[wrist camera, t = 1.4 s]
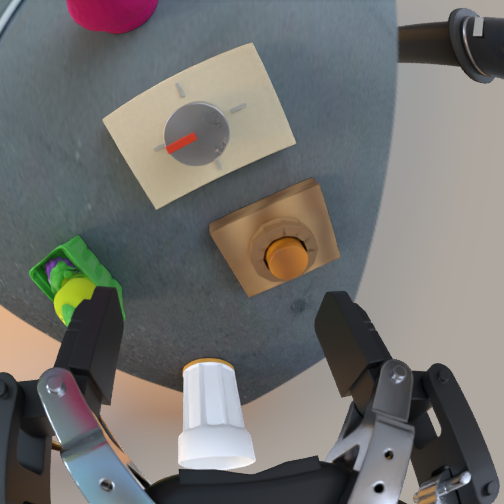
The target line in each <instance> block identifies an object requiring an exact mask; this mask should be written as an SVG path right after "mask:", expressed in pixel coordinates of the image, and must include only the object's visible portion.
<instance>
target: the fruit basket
mask: <svg viewBox="0 0 504 504" xmlns="http://www.w3.org/2000/svg"><path fill="white" fill-rule="evenodd" d="M29 274H30V277H31V279H32V280H33V281H34V282H35V283H36V284H37V286H38V287H39V288H40V289H41V290H42V291H43V292H44V293H45V294H46V295H47V296H48V298H50V300H51V301H52V302H53V303H54V307H55V311H56V313H57V315H58V317H59V318H60V319H61V320H62V321H63V322H64V324H65V325H66V326H67V327H68V325H69V322H70V321H71V317H72V314H73V312H74V309H75V308H76V307H77V306H78V304H79V303H80V302H81V301H82V300H83V299H91V297H92V294H93V292H94V289H95V287H96V286H106V287H116V289H117V292H118V297H119V301H120V306H121V310H122V314H123V320H125V312H124V309H123V298H122V287H121V285H120V284H119V283H118V282H117V281H116V280H115V279H114V278H112V276H111V274H110V273H109V272H108V271H107V269H106V268H105V267H104V266H103V265H102V264H100V263H99V260H98V259H97V257H96V256H95V255H94V254H93V252H92V251H91V250H89V249H88V248H87V246H86V244H85V242H84V241H83V240H82V238H81V237H80V236H79V235H77V236H75V237H74V238H72V239H71V240H69V241H68V242H67V243H65V244H63V245H60V246H58V247H57V248H56V249H55V250H53V251H52V252H51V253H50V254H49V255H48V256H46V257H45V258H44V259H43V260H42V261H40V262H39V263H38V264H37V265H36V266H35V267H33V268H32V269H31V270H30V272H29Z"/></svg>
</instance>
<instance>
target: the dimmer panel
mask: <svg viewBox="0 0 504 504" xmlns="http://www.w3.org/2000/svg"><path fill="white" fill-rule="evenodd" d="M194 101H206V102H209V103H212V104H214V105H215V106H216V107H218V108H219V109H220V111H221V112H222V113H223V115H224V116H225V118H226V119H227V122H228V124H229V128H230V138H229V142H228V145H227V147H226V149H225V151H224V152H223V153H222V155H221V156H220V157H219V158H217V159H216V160H215V161H213V162H211V163H209V164H206V165H202V166H189V165H185V164H182V163H180V162H178V161H177V160H175V159H174V158H173V157H172V156H171V155H170V154H168V152H167V150H166V148H165V144H164V138H163V134H164V128H165V125H166V122H167V120H168V119H169V117H170V116H171V115H172V114H173V113H174V112H175V111H176V110H177V109H179V108H180V107H182V106H184V105H186V104H188V103H190V102H194ZM103 122H104V124H105V126H106V127H107V129H108V131H109V133H110V134H111V136H112V138H113V140H114V141H115V143H116V145H117V146H118V148H119V150H120V152H121V153H122V155H123V157H124V158H125V160H126V162H127V163H128V165H129V167H130V168H131V170H132V172H133V173H134V175H135V176H136V178H137V180H138V181H139V183H140V184H141V186H142V188H143V189H144V191H145V192H146V194H147V196H148V197H149V199H150V200H151V202H152V203H153V205H154V207H155V208H156V209H159V208H161V207H163V206H164V205H166V204H168V203H170V202H172V201H174V200H176V199H178V198H179V197H181V196H183V195H185V194H187V193H189V192H191V191H193V190H195V189H197V188H199V187H201V186H203V185H205V184H207V183H209V182H211V181H213V180H215V179H217V178H219V177H221V176H223V175H226V174H228V173H230V172H232V171H234V170H236V169H238V168H241V167H243V166H245V165H247V164H249V163H252V162H254V161H256V160H258V159H261V158H263V157H265V156H268V155H270V154H272V153H275V152H277V151H279V150H282V149H284V148H287V147H289V146H292V145H294V144H296V141H295V139H294V136H293V133H292V131H291V128H290V126H289V123H288V121H287V118H286V116H285V113H284V111H283V109H282V106H281V104H280V101H279V99H278V97H277V94H276V92H275V90H274V87H273V85H272V83H271V81H270V78H269V76H268V74H267V72H266V70H265V68H264V65H263V63H262V61H261V59H260V57H259V55H258V53H257V51H256V49H255V47H254V44H253V43H252V42H251V43H248V44H246V45H243V46H240V47H237V48H235V49H232V50H229V51H227V52H224V53H222V54H219V55H217V56H215V57H212V58H210V59H208V60H205V61H203V62H201V63H199V64H196V65H194V66H192V67H190V68H188V69H186V70H184V71H182V72H180V73H178V74H176V75H174V76H172V77H170V78H168V79H166V80H164V81H163V82H161V83H159V84H157V85H155V86H154V87H152V88H150V89H148V90H147V91H145V92H143V93H142V94H140V95H138V96H137V97H135V98H133V99H132V100H130V101H129V102H127V103H126V104H124V105H123V106H121V107H120V108H118V109H117V110H115V111H114V112H112V113H111V114H109V115H108V116H106V117H105V118H104V119H103Z"/></svg>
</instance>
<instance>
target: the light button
mask: <svg viewBox="0 0 504 504" xmlns="http://www.w3.org/2000/svg"><path fill="white" fill-rule="evenodd" d="M266 260H267V263H268V266H269V269H270V271H271V273H272V274H273V275H274V276H275V277H277V278H280V279H291V278H294V277H296V276H298V275H299V274H301V273H302V272H303V271H304V270H305V268H306V266H307V264H308V255H307V253H306V251H305V249H304V247H303V245H302V244H301V242H300V241H298V240H297V239H295V238H292V237H283V238H280V239H278V240H276V241H274V242H273V243H272V244H271V245H270V246H269V248H268V249H267V252H266Z"/></svg>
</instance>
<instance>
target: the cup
mask: <svg viewBox="0 0 504 504" xmlns="http://www.w3.org/2000/svg"><path fill="white" fill-rule="evenodd" d="M183 378H184V392H183V394H184V395H183V432H182V433H181V434H180V436H179V438H178V463H179V464H180V465H181V466H183V467H186V468H190V469H217V470H226V469H234V468H239V467H244V466H247V465H250V464H252V463H253V462H255V461H256V459H255V454H254V449H253V445H252V440H251V436H250V433H249V432H248V431H246V430H245V425H244V420H243V416H242V410H241V405H240V400H239V394H238V389H237V384H236V378H235V372H234V367H233V366H232V365H231V364H230V363H228V362H226V361H224V360H221V359H215V358H204V359H197V360H195V361H192V362H190V363H188V364H187V365H186V366H185V367H184V369H183Z"/></svg>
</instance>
